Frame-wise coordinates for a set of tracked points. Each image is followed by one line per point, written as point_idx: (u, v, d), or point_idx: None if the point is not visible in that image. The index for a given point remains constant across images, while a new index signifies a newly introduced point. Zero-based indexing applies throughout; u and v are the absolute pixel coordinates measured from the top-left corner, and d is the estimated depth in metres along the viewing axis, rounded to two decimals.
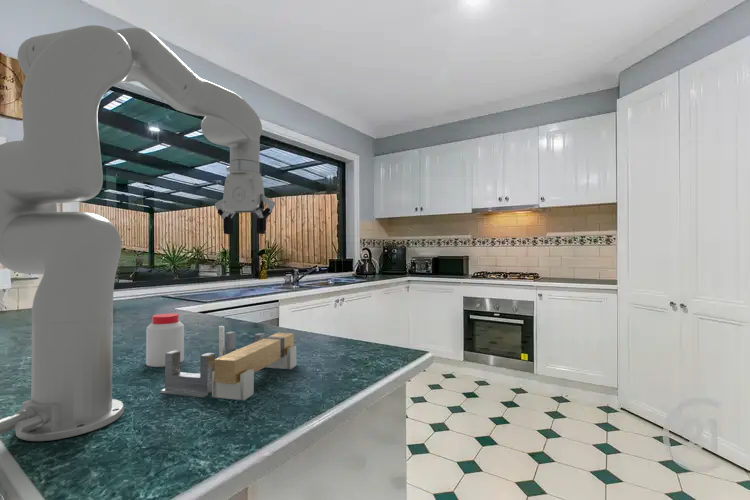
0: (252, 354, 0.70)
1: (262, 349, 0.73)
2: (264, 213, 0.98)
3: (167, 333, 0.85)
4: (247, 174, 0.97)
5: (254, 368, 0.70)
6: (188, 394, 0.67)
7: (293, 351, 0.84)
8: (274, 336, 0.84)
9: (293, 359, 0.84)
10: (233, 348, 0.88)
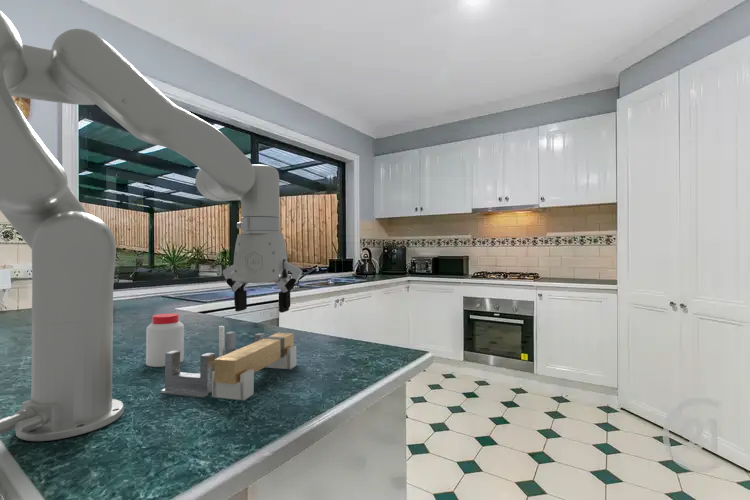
0: (252, 354, 0.70)
1: (262, 349, 0.73)
2: (288, 285, 0.74)
3: (167, 333, 0.85)
4: (265, 235, 0.73)
5: (254, 368, 0.70)
6: (188, 394, 0.67)
7: (293, 351, 0.84)
8: (274, 336, 0.84)
9: (293, 359, 0.84)
10: (233, 348, 0.88)
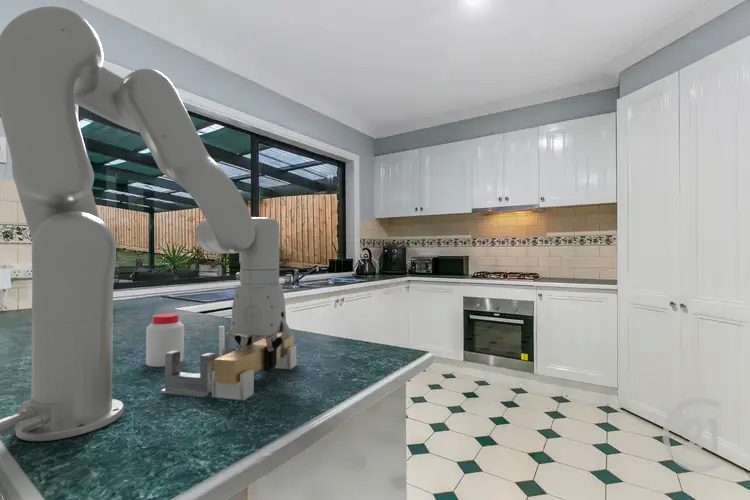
0: (252, 354, 0.70)
1: (262, 349, 0.73)
2: (275, 347, 0.74)
3: (167, 333, 0.85)
4: (264, 288, 0.73)
5: (254, 368, 0.70)
6: (188, 394, 0.67)
7: (293, 351, 0.84)
8: None
9: (293, 359, 0.84)
10: (233, 348, 0.88)
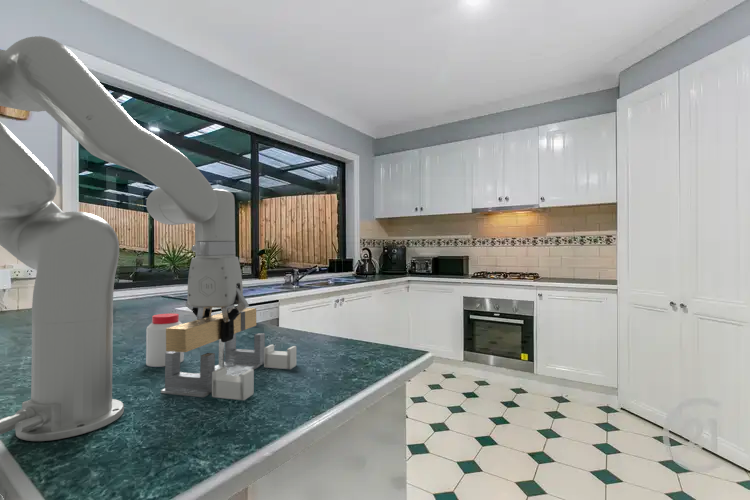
0: (206, 324, 0.71)
1: (218, 320, 0.74)
2: (231, 318, 0.75)
3: None
4: (218, 259, 0.74)
5: (209, 338, 0.71)
6: (188, 394, 0.67)
7: (293, 351, 0.84)
8: None
9: (293, 359, 0.84)
10: (233, 348, 0.88)
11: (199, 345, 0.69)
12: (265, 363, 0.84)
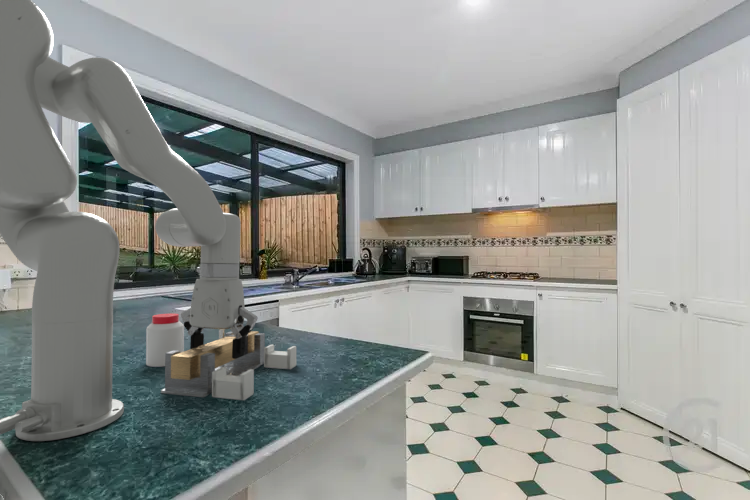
0: (210, 351, 0.72)
1: (222, 346, 0.75)
2: (243, 332, 0.75)
3: (167, 333, 0.85)
4: (222, 282, 0.75)
5: None
6: (188, 394, 0.67)
7: (293, 351, 0.84)
8: None
9: (293, 359, 0.84)
10: None
11: None
12: (265, 363, 0.84)
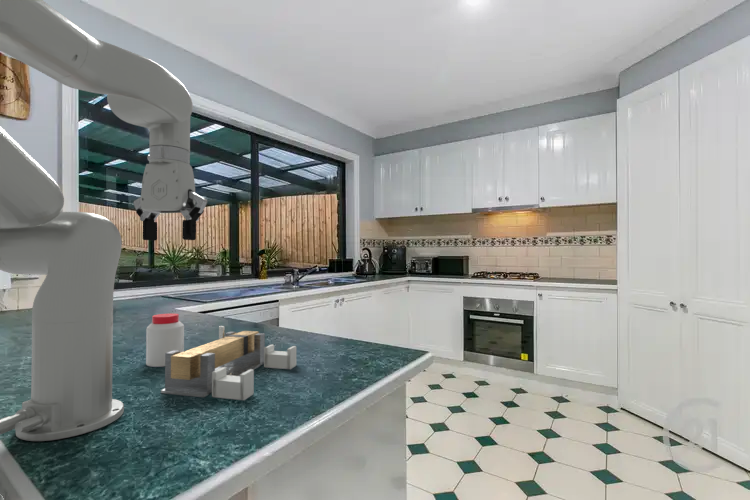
0: (210, 351, 0.72)
1: (222, 346, 0.75)
2: (192, 214, 0.77)
3: (167, 333, 0.85)
4: (170, 164, 0.76)
5: None
6: (188, 394, 0.67)
7: (293, 351, 0.84)
8: (238, 334, 0.86)
9: (293, 359, 0.84)
10: None
11: None
12: (265, 363, 0.84)
